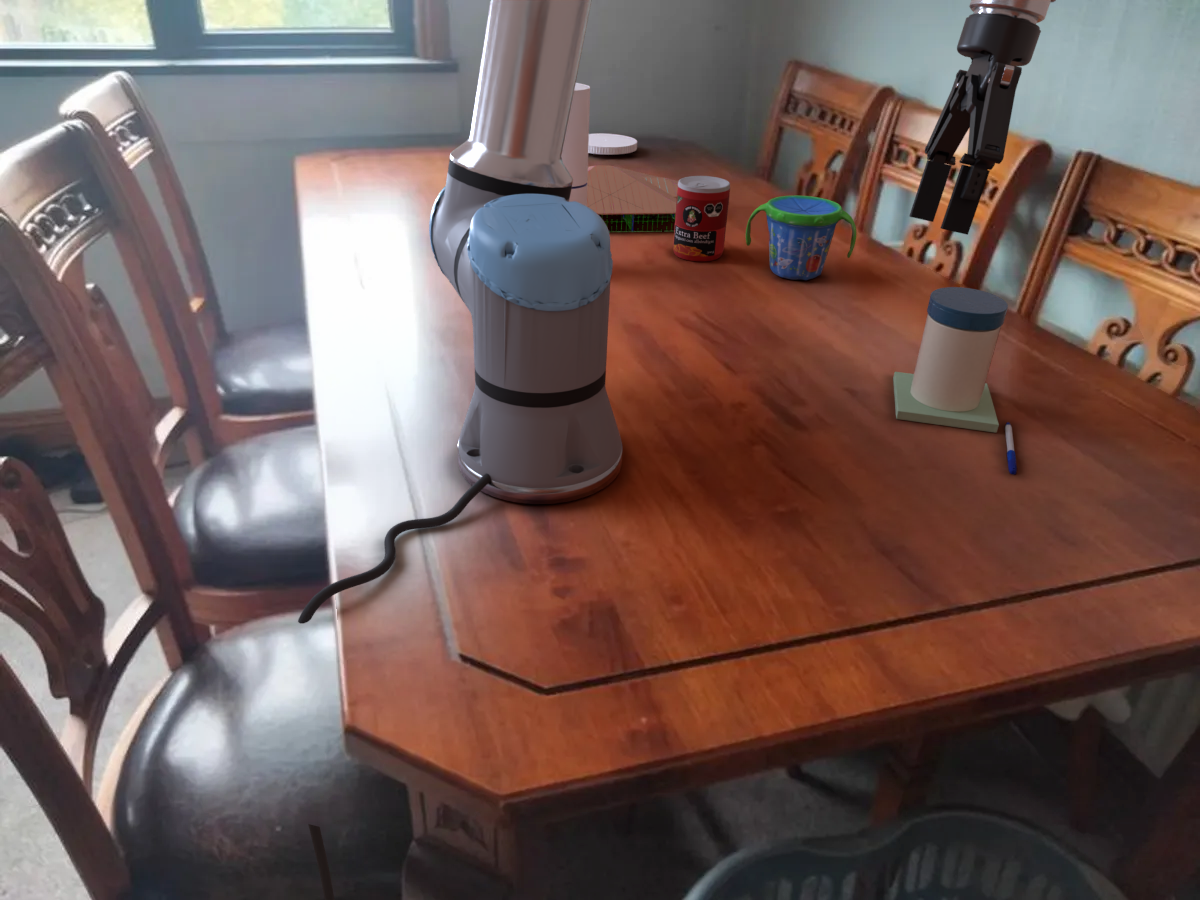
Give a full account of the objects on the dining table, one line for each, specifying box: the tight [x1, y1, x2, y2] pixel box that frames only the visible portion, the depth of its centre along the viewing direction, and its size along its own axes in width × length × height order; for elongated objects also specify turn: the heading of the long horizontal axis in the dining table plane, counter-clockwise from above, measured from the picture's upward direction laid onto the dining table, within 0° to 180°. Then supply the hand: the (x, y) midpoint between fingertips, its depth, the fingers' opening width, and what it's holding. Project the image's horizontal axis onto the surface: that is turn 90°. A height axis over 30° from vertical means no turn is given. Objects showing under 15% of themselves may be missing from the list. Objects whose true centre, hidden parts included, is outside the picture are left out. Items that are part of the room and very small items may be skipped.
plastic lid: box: [588, 132, 638, 156], centre depth 198 cm, size 14×14×2 cm
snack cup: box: [745, 195, 857, 281], centre depth 131 cm, size 16×10×10 cm
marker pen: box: [1004, 421, 1018, 476], centre depth 90 cm, size 10×1×1 cm, turn 163°
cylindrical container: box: [561, 82, 591, 206], centre depth 125 cm, size 7×7×25 cm
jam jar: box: [910, 313, 1002, 412], centre depth 95 cm, size 7×7×10 cm
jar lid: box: [926, 286, 1009, 330], centre depth 93 cm, size 8×8×2 cm
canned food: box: [672, 175, 731, 263], centre depth 137 cm, size 8×8×11 cm
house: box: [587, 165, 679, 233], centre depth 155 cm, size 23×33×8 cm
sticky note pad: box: [892, 371, 1000, 434], centre depth 98 cm, size 10×10×1 cm
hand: (936, 225), depth 101 cm, fingers open, 13 cm apart
